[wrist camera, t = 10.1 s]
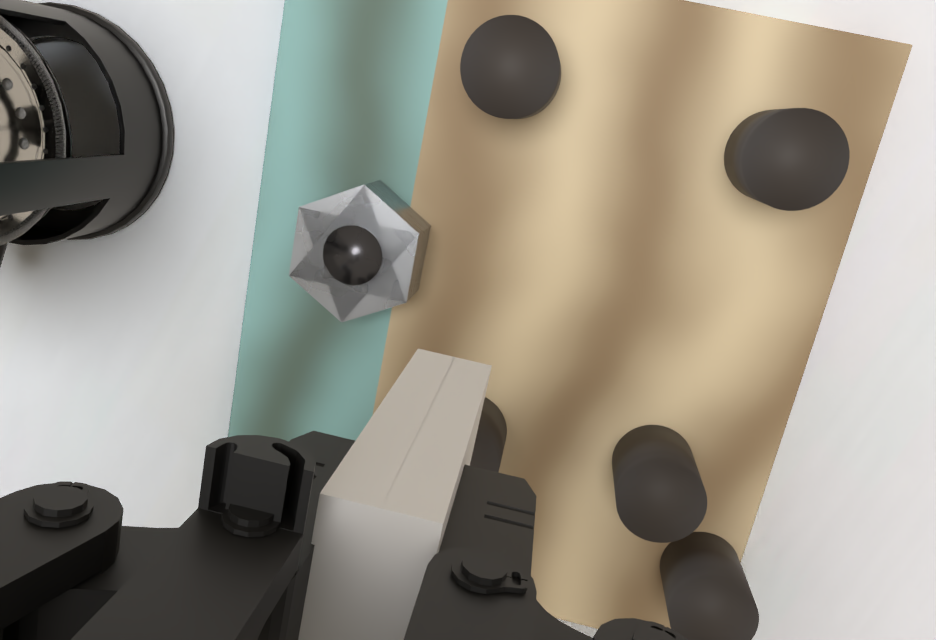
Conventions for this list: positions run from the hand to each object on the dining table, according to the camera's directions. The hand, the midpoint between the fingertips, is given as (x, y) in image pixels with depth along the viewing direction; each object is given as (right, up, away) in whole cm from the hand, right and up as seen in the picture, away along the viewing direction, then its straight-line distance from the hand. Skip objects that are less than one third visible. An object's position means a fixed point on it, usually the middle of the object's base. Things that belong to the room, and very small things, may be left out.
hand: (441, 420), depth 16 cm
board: (+3, +2, +16) cm, 17 cm away
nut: (-3, +5, +15) cm, 16 cm away
